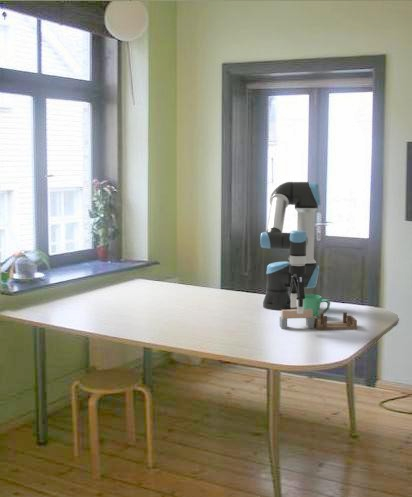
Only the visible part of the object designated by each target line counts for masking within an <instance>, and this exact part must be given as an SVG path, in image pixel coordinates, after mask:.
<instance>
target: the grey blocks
mask: <svg viewBox="0 0 412 497" xmlns="http://www.w3.org/2000/svg"><path fill="white" fill-rule="evenodd" d="M305 326H306V327H307V329H315V326H314V318H313V317H312V318H305ZM279 327H280V328H281V329H282V330H285V329H288V319H282V318H281V316H279Z"/></svg>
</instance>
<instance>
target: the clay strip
mask: <svg viewBox="0 0 412 497" xmlns="http://www.w3.org/2000/svg"><path fill="white" fill-rule="evenodd" d="M280 313H281V314H280V317H281V318H282V319H287V320H288V319H306V318H312V317H313V310H312V309H304V308H303V314H297V308H296V309H292V308H291V309H281V312H280Z"/></svg>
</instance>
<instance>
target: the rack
mask: <svg viewBox="0 0 412 497" xmlns="http://www.w3.org/2000/svg"><path fill="white" fill-rule="evenodd" d="M319 313H320V316H319V318H318V316H314V328H316V329H317V330H318V331H332V330H333V331H334V330H335V331H336V330H338V331H339V330H340V329H341V330H357V329H358V325H357V324H358V320H357V319H356V318H355V317H354V316H352V315H350V314H347V312H346V311H344V312H342V321H335V322H333V321H332V322H331V321H329V322H328V316H327V315H325V313H322V312H319Z"/></svg>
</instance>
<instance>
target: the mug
mask: <svg viewBox="0 0 412 497" xmlns="http://www.w3.org/2000/svg"><path fill="white" fill-rule="evenodd" d="M322 298H323V297H322V296H321V295H319V294H305V299H304V304H303V309H312V310H313V318H314V316H316V317H320V313H324V314H325V313H327V312H328V311H329V310H330V306H331V302H330V299H324V298H323V299H322ZM322 303H326V306H327V307H326V308H325V309H324V310H323V311H322V312H319V310H320V308H321V307H320V306H321V304H322Z"/></svg>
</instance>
